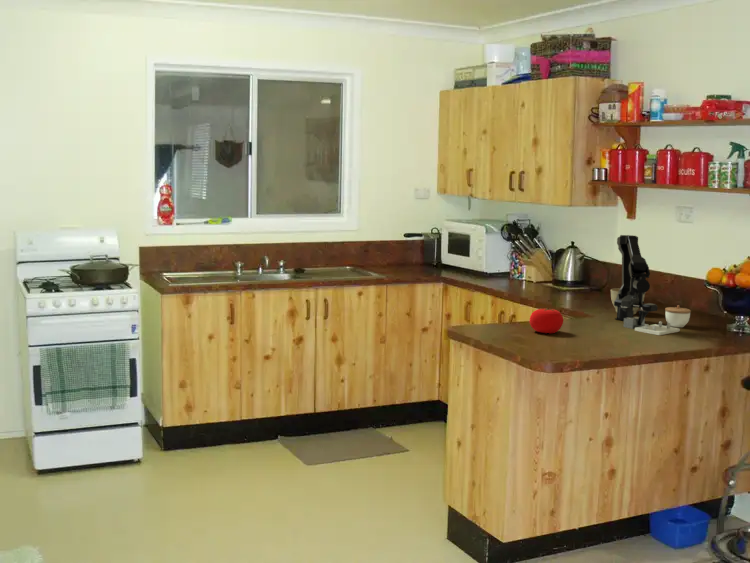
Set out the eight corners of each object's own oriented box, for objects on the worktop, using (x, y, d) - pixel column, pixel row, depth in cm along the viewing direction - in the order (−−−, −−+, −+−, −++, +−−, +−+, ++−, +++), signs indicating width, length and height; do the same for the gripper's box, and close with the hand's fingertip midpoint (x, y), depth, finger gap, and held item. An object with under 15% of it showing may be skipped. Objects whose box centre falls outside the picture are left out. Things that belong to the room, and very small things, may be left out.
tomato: (536, 335, 375) (538, 310, 374) (523, 329, 388) (525, 305, 386) (568, 335, 379) (570, 310, 378) (554, 329, 392) (555, 305, 390)
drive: (623, 326, 403) (624, 317, 402) (635, 325, 407) (635, 316, 407) (632, 328, 399) (633, 319, 398) (644, 327, 403) (644, 318, 403)
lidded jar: (673, 328, 403) (674, 307, 402) (659, 324, 413) (661, 303, 412) (694, 328, 406) (695, 307, 404) (680, 323, 416) (681, 303, 415)
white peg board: (634, 330, 395) (635, 323, 394) (655, 326, 405) (655, 319, 405) (659, 335, 386) (659, 327, 385) (679, 331, 396) (680, 324, 396)
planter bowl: (636, 317, 429) (637, 294, 428) (603, 312, 439) (605, 290, 437) (648, 313, 442) (650, 291, 441) (616, 309, 452) (618, 287, 450)
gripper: (607, 287, 402) (605, 322, 405) (644, 293, 389) (642, 329, 391) (622, 286, 410) (620, 320, 412) (659, 291, 396) (656, 327, 398)
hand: (634, 324), depth 403 cm, fingers closed on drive, 5 cm apart
